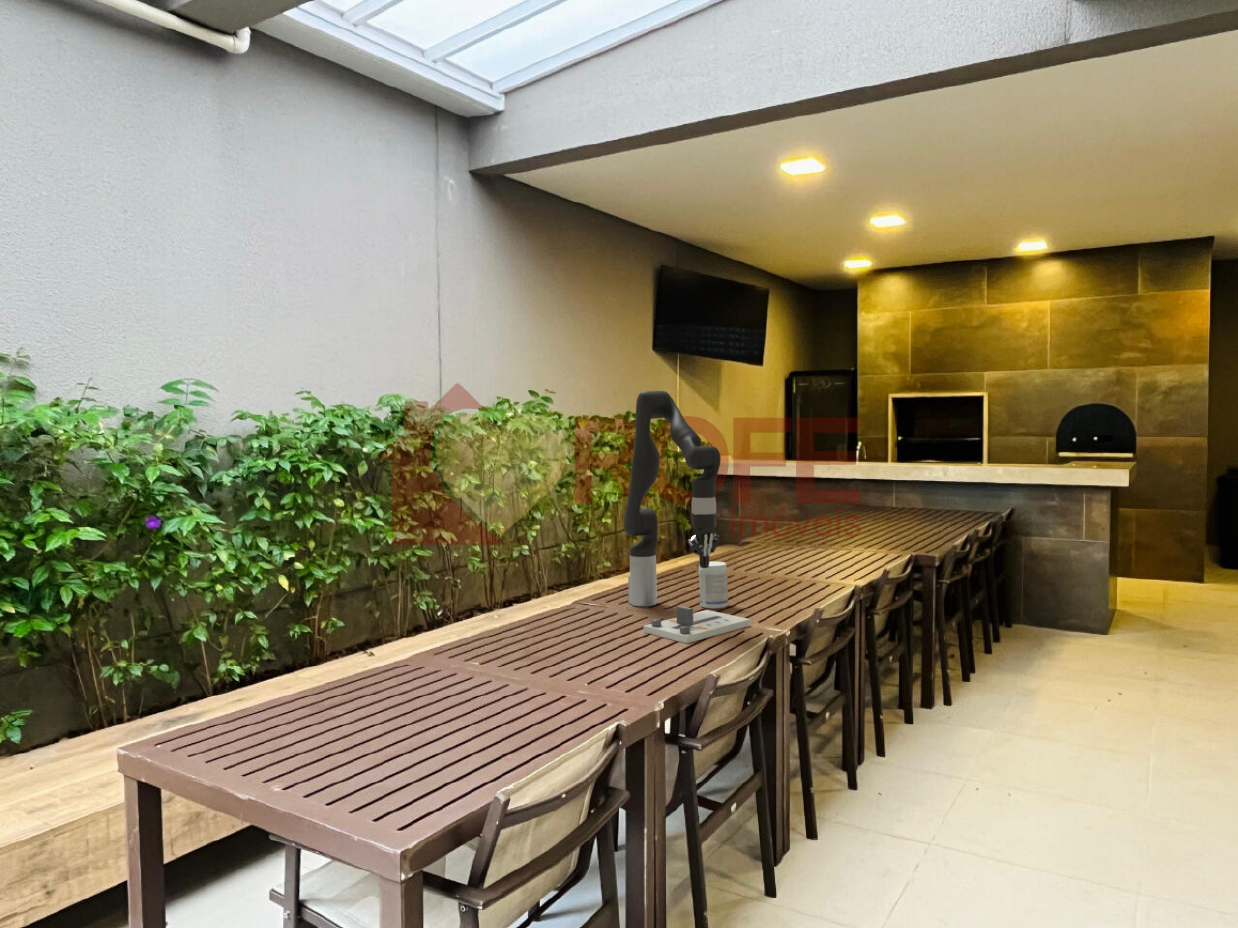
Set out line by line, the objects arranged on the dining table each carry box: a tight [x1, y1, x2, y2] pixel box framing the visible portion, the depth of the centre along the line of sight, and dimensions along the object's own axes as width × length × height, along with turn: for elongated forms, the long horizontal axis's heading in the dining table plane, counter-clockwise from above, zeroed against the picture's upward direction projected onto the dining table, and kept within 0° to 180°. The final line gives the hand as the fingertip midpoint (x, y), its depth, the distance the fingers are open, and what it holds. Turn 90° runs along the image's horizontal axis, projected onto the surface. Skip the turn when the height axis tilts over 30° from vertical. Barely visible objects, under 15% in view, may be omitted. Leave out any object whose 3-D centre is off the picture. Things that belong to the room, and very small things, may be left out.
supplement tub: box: [698, 561, 729, 610], centre depth 281 cm, size 10×10×15 cm
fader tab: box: [675, 605, 694, 626], centre depth 248 cm, size 5×2×5 cm, turn 41°
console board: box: [643, 609, 751, 644], centre depth 251 cm, size 18×28×4 cm, turn 131°
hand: (704, 567), depth 253 cm, fingers closed
